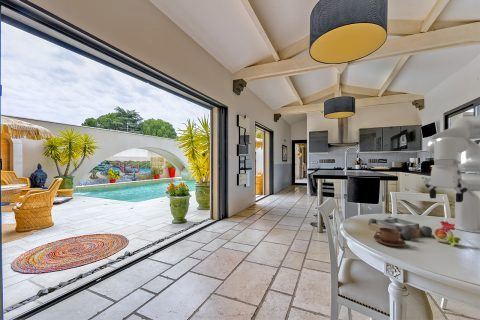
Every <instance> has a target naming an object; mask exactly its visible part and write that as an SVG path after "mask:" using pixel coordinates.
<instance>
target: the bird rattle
mask: <svg viewBox="0 0 480 320" xmlns="http://www.w3.org/2000/svg"><path fill="white" fill-rule="evenodd" d="M439 222H440V224H441V226H437V227H434V228H433V229H432V235H433V237H434V239H436V241H437V243H450V246H451V247H454V246H455V245H456V244H459V243H460V241H462V239H461V238H460V237H455V236H454V233H453V232H452V231H455V228H454V226H455V223H450V222H448V221H444V220H441V221H439ZM451 230H452V231H451Z"/></svg>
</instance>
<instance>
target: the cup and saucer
mask: <svg viewBox="0 0 480 320" xmlns="http://www.w3.org/2000/svg"><path fill="white" fill-rule="evenodd" d="M373 239H374V240H375V241H377V242H378V243H380V244H382V245H386V246H390V247H402V246H404V245H405V244H406V241H405V239H404V240H403V239H400V238H399V232H398V231H397V230H395V229H391V228H380V229H379V232H377V231H375V233H374V235H373Z"/></svg>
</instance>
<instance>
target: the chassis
mask: <svg viewBox="0 0 480 320" xmlns="http://www.w3.org/2000/svg"><path fill="white" fill-rule="evenodd" d="M367 224H368V226H369V230H371V231H375V232H379V229H380V228H391V229H395V230H397V231H398V232H399V238H400V239H402V240H403V239H404V240H407V241H410V240H411V239H412V238H416V237H423V236H424V237H426V238H430V237H431V236H432V235H433V229H432V228H431V227H430V226H428V225H423V226H420V223H417V222H413V221H409V220H406V219H402V218H398V217H393V216H388V217H387V218H381V219H375V218H370V219H369V220H368V223H367Z"/></svg>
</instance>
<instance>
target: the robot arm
mask: <svg viewBox="0 0 480 320" xmlns="http://www.w3.org/2000/svg"><path fill="white" fill-rule="evenodd" d="M475 139H476V140H478V139H480V114H479V115H470V116H464V117H460V118H457V119H455V120H453V122H452V124H450V127H449V128H447V129H444V130H442V131H439V132H437V133H435V134H433V135H431V137H430V138H429V139H428V141H427V143H426V150H427V152H428V153H430V154H433V157H434V159H433V163H434V165H433V166H432V168H431V171H430V178H427V179H424V180H423V181H422V182H423V183H424V185H425V188H427V189H428V191H429V199H436V198H437V190H436V189H437V188H443V189H453V190H454V218H455V219H454V224H455V226H454V228H455V229H456V230H459V231H463V232H470V233H475V234H476V233H477V234H480V197H479V195H477V194H476V193H475V192H480V145H479V143H477V142H475V141H473V140H475ZM462 172H465V173H462ZM467 172H468V173H467ZM469 172H470V173H469Z"/></svg>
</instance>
